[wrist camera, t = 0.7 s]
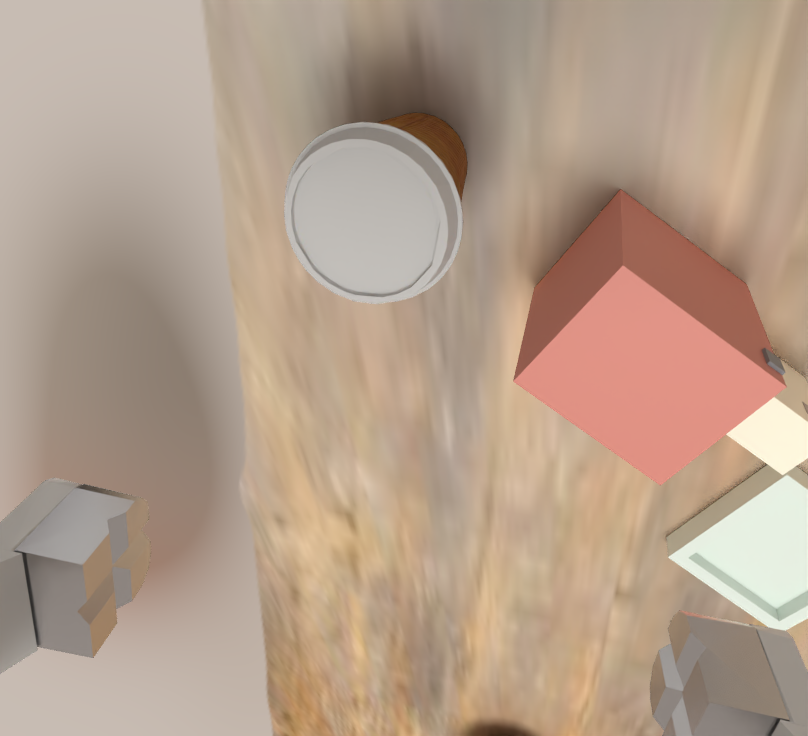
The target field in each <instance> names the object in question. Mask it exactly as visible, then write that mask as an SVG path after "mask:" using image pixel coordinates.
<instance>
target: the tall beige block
mask: <svg viewBox="0 0 808 736" xmlns="http://www.w3.org/2000/svg"><path fill="white" fill-rule="evenodd" d="M780 360H781V359H780ZM781 362H782V365H783V367H784V370H785V372H786V373H785V374H783V375H782V376H783V378H784V381H785V384H786V386H787V387H786V388H785V389H784V390H782V391H781V392H780V393H779V394H777V395H776V396H775V397H773V398H772V399H771V400H770V401H768V402H767V403H766V404H764V405H763V406H762V407H761V408H759V409H758V410H757V411H755V412H754V413H753V414H752V415H750V416H749V417H748V418H746V419H745V420H744V421H742V422H741V423H740V424H739V425H737V426H736V427H735V428H733V429H732V430H731V431H730V432H728V433H727V434H726V435H728V436H729V437H731V438H732V439H733V440H735V441H736V442H737V443H739V444H740V445H742V446H743V447H744V448H746V449H747V450H749V451H750V452H751V453H753V454H754V455H755V456H757V457H758V458H760V459H761V460H762V461H764V462H765V463H766V464H768V465H769V466H771V467H772V468H773V469H775V470H776V471H777V472H779V473H780V474H782V475H784V474H785V473H787V472H788V471H790V470H791V469H793V468H794V467H795V466H797V465H798V464H800V463H801V462H803V461H804V460H805V459H807V458H808V383H807V381H806V378H805V377H804V376H802V375H801V374H800V373H798V372H797V371H796V370H794V369H793V368H791V367H790V366H789V365H787V364H786V363H785V362H783V361H782V360H781Z"/></svg>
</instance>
